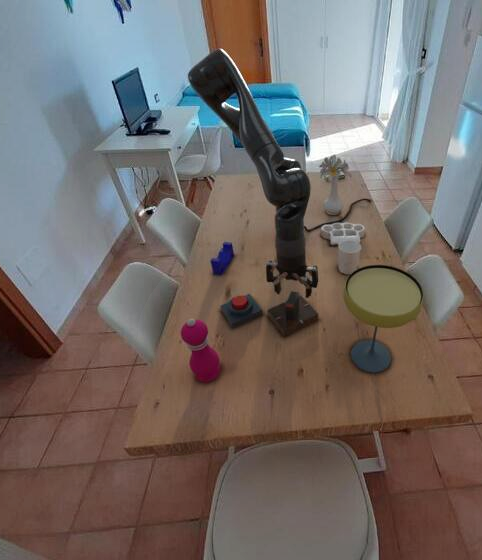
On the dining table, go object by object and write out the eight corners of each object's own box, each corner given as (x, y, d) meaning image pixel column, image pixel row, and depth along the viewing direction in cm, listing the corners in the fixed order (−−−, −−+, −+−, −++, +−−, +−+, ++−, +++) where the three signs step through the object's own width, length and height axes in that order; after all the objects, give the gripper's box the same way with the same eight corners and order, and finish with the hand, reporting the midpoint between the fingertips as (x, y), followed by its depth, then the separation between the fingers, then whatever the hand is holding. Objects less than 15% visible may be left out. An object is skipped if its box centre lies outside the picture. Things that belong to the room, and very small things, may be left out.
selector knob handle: (291, 303, 102) (290, 290, 99) (299, 304, 102) (298, 291, 98) (285, 319, 97) (284, 306, 93) (293, 320, 96) (293, 307, 93)
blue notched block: (223, 254, 127) (220, 241, 123) (234, 255, 126) (231, 242, 122) (209, 273, 118) (206, 259, 114) (221, 275, 117) (218, 261, 113)
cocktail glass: (358, 395, 81) (370, 327, 65) (327, 342, 94) (330, 274, 78) (417, 370, 87) (442, 302, 71) (381, 323, 100) (394, 257, 84)
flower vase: (340, 201, 161) (343, 149, 145) (350, 220, 147) (355, 164, 131) (314, 203, 159) (314, 151, 143) (322, 222, 145) (323, 167, 129)
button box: (250, 298, 108) (248, 289, 105) (262, 314, 102) (261, 305, 100) (221, 310, 104) (219, 301, 101) (232, 328, 98) (230, 319, 95)
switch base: (299, 300, 107) (299, 293, 105) (319, 321, 100) (319, 314, 98) (267, 315, 102) (266, 308, 100) (285, 338, 95) (284, 331, 93)
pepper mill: (196, 361, 89) (177, 309, 76) (223, 359, 89) (209, 307, 76) (191, 385, 83) (169, 333, 70) (220, 383, 84) (204, 331, 71)
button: (243, 297, 103) (243, 293, 102) (250, 305, 100) (249, 301, 99) (230, 303, 101) (229, 298, 100) (236, 311, 98) (235, 307, 97)
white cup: (361, 265, 122) (364, 243, 115) (354, 278, 116) (356, 255, 110) (341, 260, 124) (343, 237, 118) (333, 272, 119) (334, 249, 112)
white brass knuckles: (322, 247, 131) (320, 228, 142) (367, 246, 132) (361, 227, 143) (323, 240, 129) (320, 221, 140) (368, 239, 129) (362, 220, 141)
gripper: (320, 242, 86) (319, 288, 97) (268, 237, 88) (272, 282, 99) (315, 259, 80) (315, 306, 91) (259, 253, 82) (265, 299, 93)
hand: (293, 294), depth 95 cm, fingers open, 8 cm apart
